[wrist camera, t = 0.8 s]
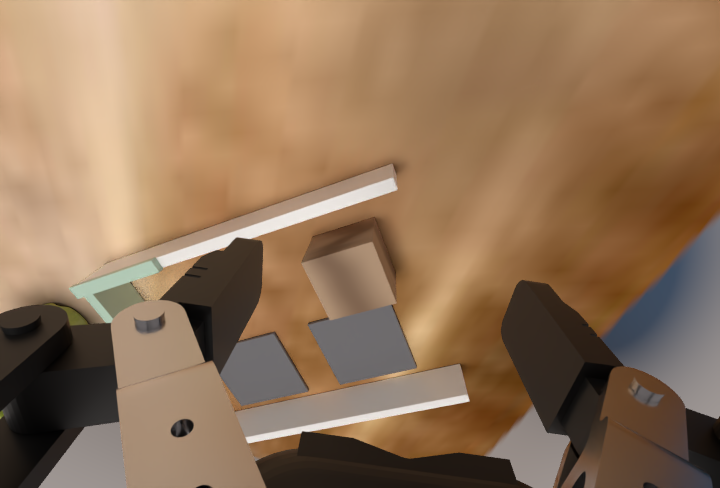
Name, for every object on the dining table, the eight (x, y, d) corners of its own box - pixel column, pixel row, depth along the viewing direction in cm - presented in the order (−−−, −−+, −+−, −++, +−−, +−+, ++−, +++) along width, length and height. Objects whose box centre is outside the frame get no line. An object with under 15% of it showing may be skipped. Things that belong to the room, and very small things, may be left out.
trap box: (392, 162, 29) (392, 178, 25) (461, 370, 39) (470, 406, 35) (105, 262, 36) (68, 288, 32) (226, 419, 45) (210, 454, 41)
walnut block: (374, 216, 32) (372, 241, 27) (395, 271, 34) (396, 303, 30) (312, 236, 33) (301, 263, 28) (337, 288, 35) (330, 320, 31)
